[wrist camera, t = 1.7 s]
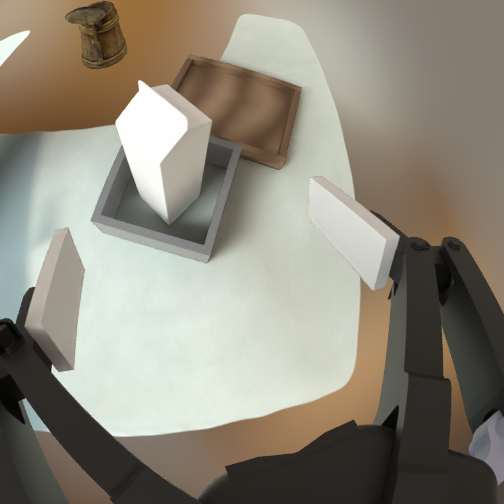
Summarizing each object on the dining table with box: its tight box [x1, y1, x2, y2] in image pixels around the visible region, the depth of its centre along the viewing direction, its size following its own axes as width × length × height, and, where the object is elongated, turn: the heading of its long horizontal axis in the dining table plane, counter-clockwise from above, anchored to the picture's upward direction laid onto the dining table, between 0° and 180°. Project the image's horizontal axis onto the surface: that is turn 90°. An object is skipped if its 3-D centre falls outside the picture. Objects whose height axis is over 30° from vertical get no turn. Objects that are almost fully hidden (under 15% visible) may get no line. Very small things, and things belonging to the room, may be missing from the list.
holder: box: [91, 136, 243, 263], centre depth 39 cm, size 15×15×6 cm
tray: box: [171, 55, 301, 170], centre depth 45 cm, size 20×16×2 cm
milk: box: [116, 80, 212, 225], centre depth 31 cm, size 6×6×22 cm
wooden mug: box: [65, 1, 127, 69], centre depth 34 cm, size 9×14×18 cm, turn 8°
